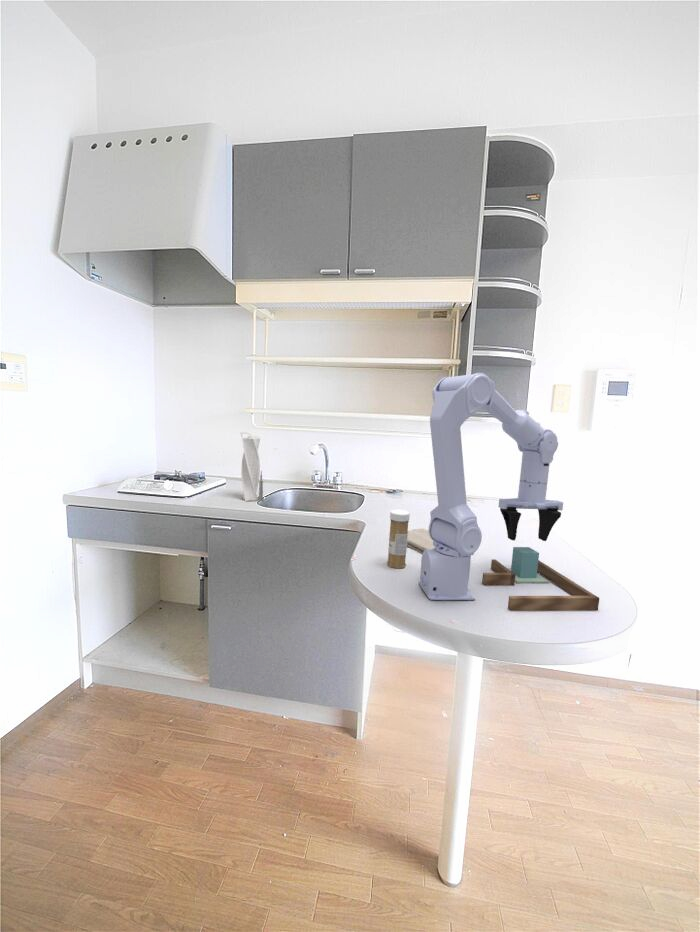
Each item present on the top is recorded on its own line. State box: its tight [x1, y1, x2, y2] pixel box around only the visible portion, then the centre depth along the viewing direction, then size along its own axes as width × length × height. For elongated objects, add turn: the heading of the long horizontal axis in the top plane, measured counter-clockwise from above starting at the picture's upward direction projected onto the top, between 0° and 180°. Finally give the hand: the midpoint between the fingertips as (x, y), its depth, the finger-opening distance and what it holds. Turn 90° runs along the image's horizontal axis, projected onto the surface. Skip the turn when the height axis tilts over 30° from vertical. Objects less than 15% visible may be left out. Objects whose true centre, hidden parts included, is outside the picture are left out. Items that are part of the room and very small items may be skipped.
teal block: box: [510, 546, 540, 578], centre depth 88 cm, size 4×4×6 cm
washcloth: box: [407, 528, 435, 555], centre depth 108 cm, size 12×18×3 cm, turn 32°
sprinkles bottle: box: [386, 509, 410, 569], centre depth 90 cm, size 5×5×14 cm
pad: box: [506, 567, 550, 584], centre depth 88 cm, size 8×8×1 cm
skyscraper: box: [240, 431, 265, 503], centre depth 154 cm, size 8×8×28 cm
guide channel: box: [481, 559, 600, 612], centre depth 82 cm, size 18×20×2 cm
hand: (526, 539), depth 87 cm, fingers open, 7 cm apart
